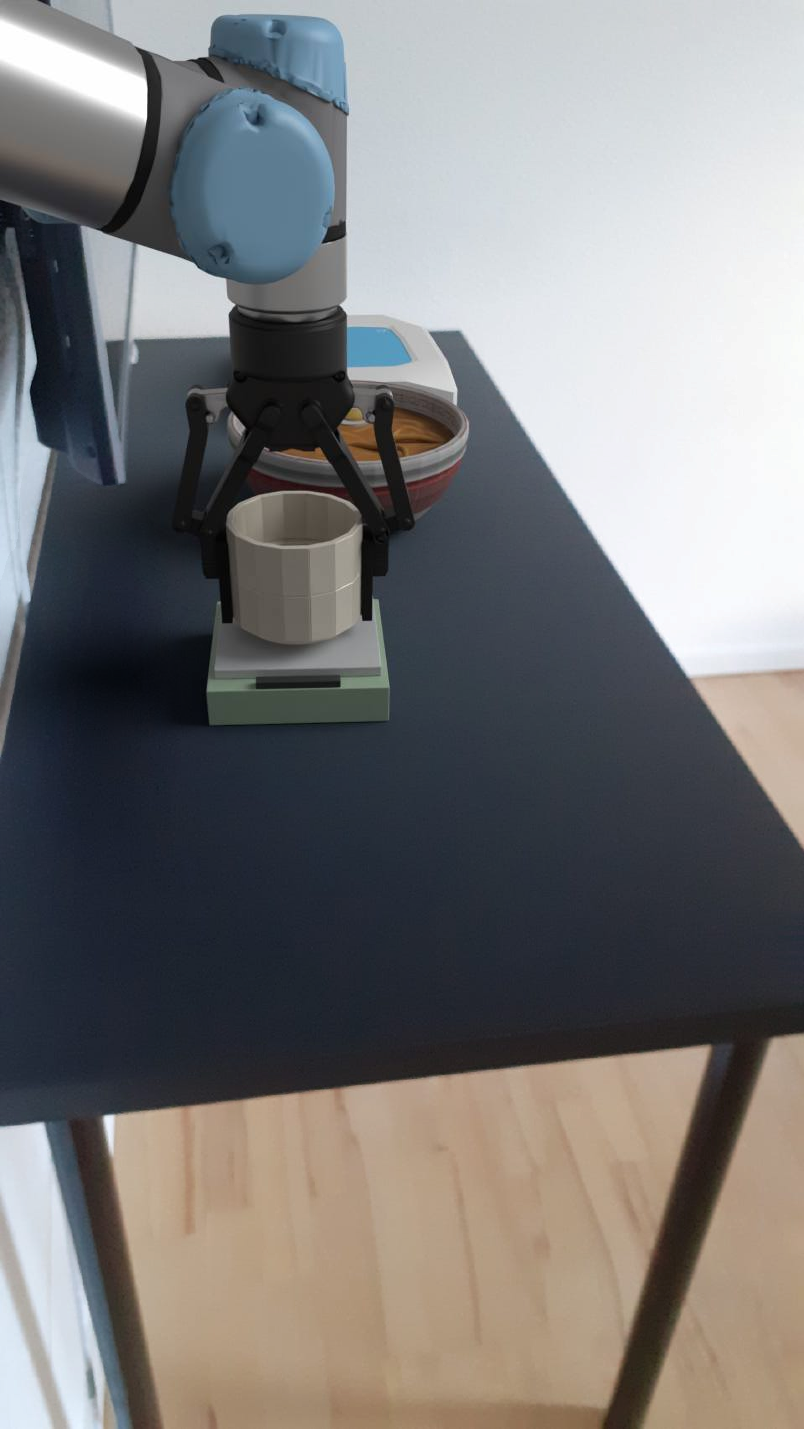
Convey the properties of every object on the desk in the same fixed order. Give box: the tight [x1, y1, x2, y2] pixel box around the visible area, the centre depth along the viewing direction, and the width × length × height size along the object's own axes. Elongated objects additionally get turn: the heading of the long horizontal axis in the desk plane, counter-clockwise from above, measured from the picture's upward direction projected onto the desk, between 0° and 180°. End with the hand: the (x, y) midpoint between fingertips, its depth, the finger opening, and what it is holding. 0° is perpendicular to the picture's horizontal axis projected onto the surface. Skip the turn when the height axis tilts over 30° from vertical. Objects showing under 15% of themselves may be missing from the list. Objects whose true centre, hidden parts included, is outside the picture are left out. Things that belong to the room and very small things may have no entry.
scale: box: [205, 598, 391, 726], centre depth 83 cm, size 13×13×4 cm
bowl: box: [226, 380, 470, 525], centre depth 105 cm, size 23×23×10 cm
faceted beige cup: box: [225, 491, 363, 644], centre depth 79 cm, size 10×10×8 cm
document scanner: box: [347, 314, 458, 407], centre depth 135 cm, size 21×28×6 cm
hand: (297, 613), depth 81 cm, fingers closed on faceted beige cup, 10 cm apart
